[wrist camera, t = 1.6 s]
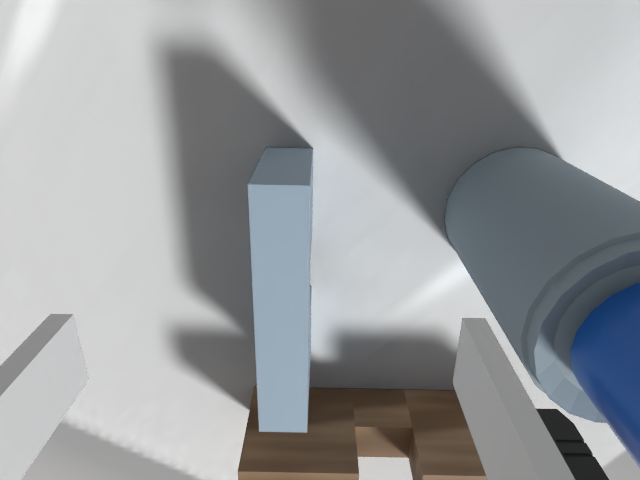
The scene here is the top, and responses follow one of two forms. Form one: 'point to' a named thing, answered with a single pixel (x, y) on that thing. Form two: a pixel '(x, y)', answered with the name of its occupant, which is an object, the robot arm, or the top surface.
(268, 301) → the slotted plate
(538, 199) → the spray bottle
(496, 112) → the top surface
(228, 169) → the top surface
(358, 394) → the slotted stand
